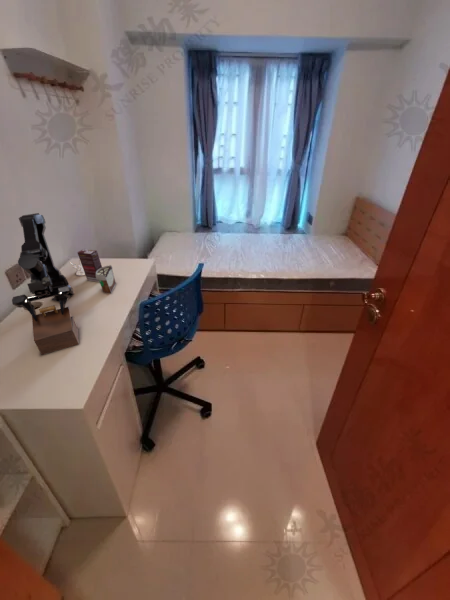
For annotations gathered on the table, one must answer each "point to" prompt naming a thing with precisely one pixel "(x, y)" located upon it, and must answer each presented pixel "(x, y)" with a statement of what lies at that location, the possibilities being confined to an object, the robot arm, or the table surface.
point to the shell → (80, 270)
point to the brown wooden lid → (51, 323)
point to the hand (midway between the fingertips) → (50, 317)
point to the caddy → (59, 340)
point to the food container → (106, 278)
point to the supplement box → (90, 263)
